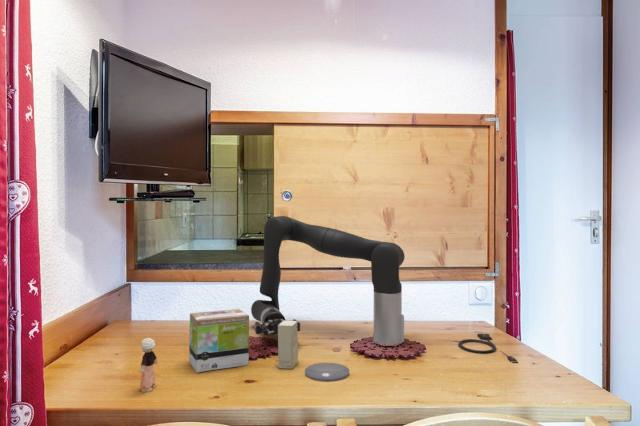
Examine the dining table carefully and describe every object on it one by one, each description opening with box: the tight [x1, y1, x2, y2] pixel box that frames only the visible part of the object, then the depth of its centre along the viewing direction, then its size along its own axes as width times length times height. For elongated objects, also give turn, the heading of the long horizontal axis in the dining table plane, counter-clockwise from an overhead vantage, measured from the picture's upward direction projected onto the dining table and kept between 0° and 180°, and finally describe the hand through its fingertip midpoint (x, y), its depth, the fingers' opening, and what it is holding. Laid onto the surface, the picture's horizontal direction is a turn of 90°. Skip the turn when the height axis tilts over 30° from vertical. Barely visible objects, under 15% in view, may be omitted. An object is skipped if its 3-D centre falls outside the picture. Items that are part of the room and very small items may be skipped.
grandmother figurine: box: [139, 337, 158, 393], centre depth 114 cm, size 8×4×13 cm, turn 5°
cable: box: [457, 333, 519, 364], centre depth 148 cm, size 14×28×2 cm, turn 177°
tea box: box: [188, 308, 250, 374], centre depth 132 cm, size 15×10×15 cm
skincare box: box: [277, 319, 299, 370], centre depth 132 cm, size 6×4×12 cm
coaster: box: [304, 362, 350, 382], centre depth 125 cm, size 12×12×1 cm
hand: (281, 332), depth 142 cm, fingers open, 8 cm apart
